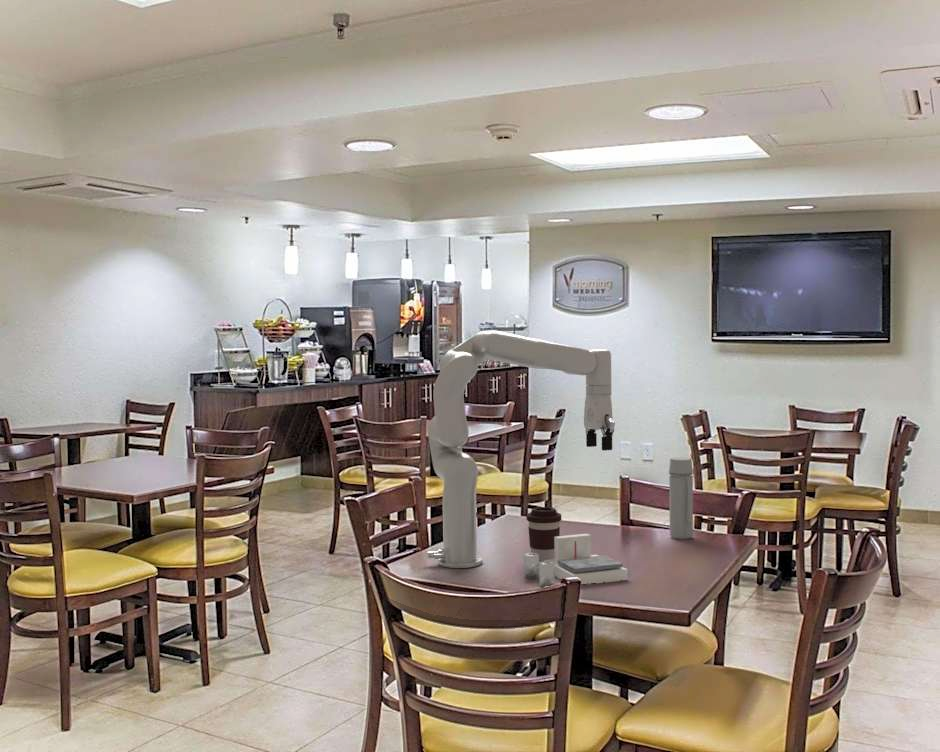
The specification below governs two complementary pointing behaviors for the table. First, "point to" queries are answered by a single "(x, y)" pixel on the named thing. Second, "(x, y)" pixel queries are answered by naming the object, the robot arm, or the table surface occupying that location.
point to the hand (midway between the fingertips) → (599, 448)
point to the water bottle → (681, 498)
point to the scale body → (577, 549)
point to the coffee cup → (543, 531)
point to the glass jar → (531, 565)
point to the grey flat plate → (589, 563)
